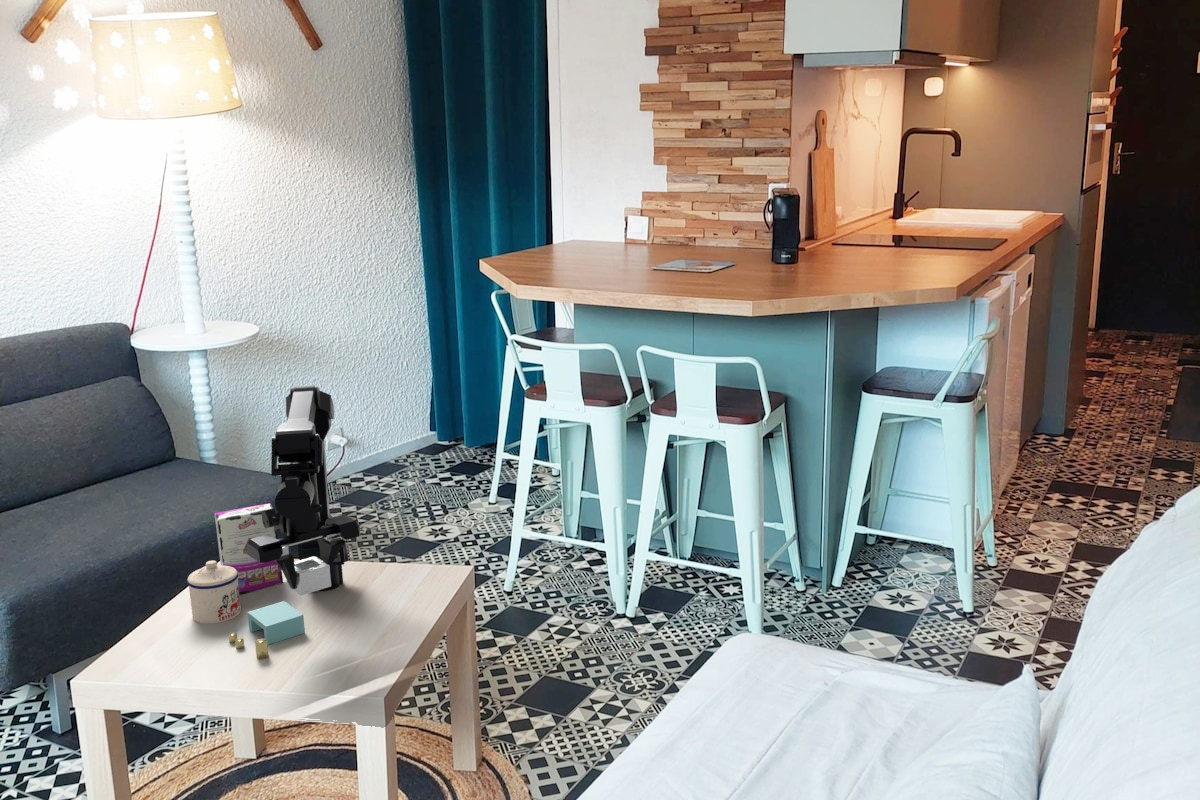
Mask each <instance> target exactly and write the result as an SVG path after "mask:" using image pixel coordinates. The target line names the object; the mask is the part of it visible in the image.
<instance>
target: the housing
mask: <svg viewBox="0 0 1200 800" xmlns="http://www.w3.org/2000/svg"><path fill="white" fill-rule="evenodd" d="M247 620H248V629H249V631H250V633H253V632H257V631H259V630H262V629H263V635H264V639H267V644H268V646H269V645H272V644H276V643H278V642H281V641H284V640H287V639H290V638H291V639H292V638H294V637H296V636H299V635H302V634H305V633H306V630H305V617H304V614H303V613H301V611H299V610H297V609H296V608H295V607H293V606H292V605H290V604H289V603H288V602H286V601H285V600H283V601H279V602H276V603H272V604H269V605H266V606H263V607H260V608H257V609H254V610H250V611H247Z"/></svg>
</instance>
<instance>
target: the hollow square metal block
mask: <svg viewBox="0 0 1200 800" xmlns="http://www.w3.org/2000/svg"><path fill="white" fill-rule="evenodd" d="M294 564H295V578H296V585H295V589H292V588H291V587H290V585H289V583H288V581H287V580H286V585H287V587H288V588H290V589H292V590H293V591H294V592H296V593H297V594H298V595H300V596H304V595H307V594H310V593H311V594H312V593H315V592H314V591H318V590H321V589H324V588H328V587H331V577H330V566H329V564H327V563H325V562H324V561H322V560H320V559H319V558H317V557H316V556H313V557H310V558H306V559H303V560H299V559H298V560H296V561H294ZM318 592H319V591H318Z"/></svg>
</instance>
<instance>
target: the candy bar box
mask: <svg viewBox="0 0 1200 800" xmlns="http://www.w3.org/2000/svg"><path fill="white" fill-rule="evenodd" d="M272 508H274V507H273V506H272V504H271V503H270V502H269V503H264V504H263V503H262V504H258V505H252V506H247V507H241V508H234V509H229V510H225V511H219V512H214V520H215V521H214V522H215V528H216V535H217V546H218V553H219V562H220V565H224V566H230V567H233V568H235V569H236V570H237V572H238V587H239V595H243V594H249V593H253V592H256V591H259V590H264V589H267V588H270V587H274V586H277V585H280V584H283V583H284V580H283V579H284V578H283V571H282V569H281V567H280V566H279V564H278V563H276V562H275V561H269V562H266V563H260V562H258V561H257V560H255V559H254V558H252V557H251V556H249V555H248V554H247V544H248V542H249V540H250V539H252V538H256V537H260V536H263V535H267V534H269V535H271V536H272V537H274V538H276V539H278V538H279V536H278V535H279V534H278V533H279V532H278V531H275V529H274V526H273V527H269V528H265V527H264V525H263V521H262V511H264V510H268V509H272Z"/></svg>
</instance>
